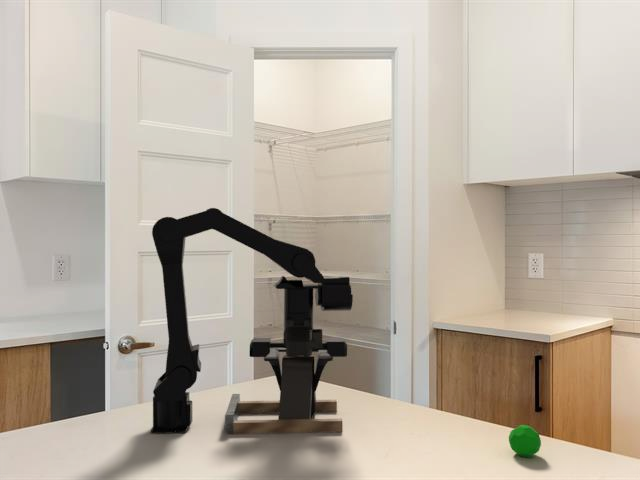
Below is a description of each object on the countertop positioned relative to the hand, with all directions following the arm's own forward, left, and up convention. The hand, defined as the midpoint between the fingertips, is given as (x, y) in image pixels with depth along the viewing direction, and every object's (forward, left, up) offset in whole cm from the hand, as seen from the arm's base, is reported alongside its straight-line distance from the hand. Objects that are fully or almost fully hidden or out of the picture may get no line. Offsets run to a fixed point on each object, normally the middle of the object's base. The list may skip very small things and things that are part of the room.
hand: (298, 391), depth 114 cm
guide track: (-2, 0, -6) cm, 6 cm away
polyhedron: (+37, -20, -6) cm, 43 cm away
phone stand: (0, 0, -5) cm, 5 cm away
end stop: (-13, 0, -6) cm, 14 cm away
